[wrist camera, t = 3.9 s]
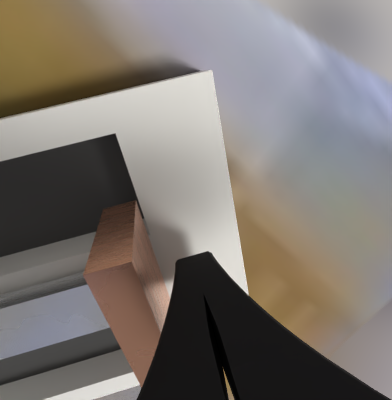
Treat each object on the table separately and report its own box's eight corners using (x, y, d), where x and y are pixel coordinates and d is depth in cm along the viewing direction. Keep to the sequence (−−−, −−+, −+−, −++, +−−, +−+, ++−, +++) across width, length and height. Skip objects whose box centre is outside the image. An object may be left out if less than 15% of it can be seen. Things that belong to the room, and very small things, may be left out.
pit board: (246, 321, 14) (257, 348, 13) (-82, 421, 13) (-109, 462, 11) (201, 70, 9) (211, 70, 7) (-368, 204, 7) (-478, 232, 6)
